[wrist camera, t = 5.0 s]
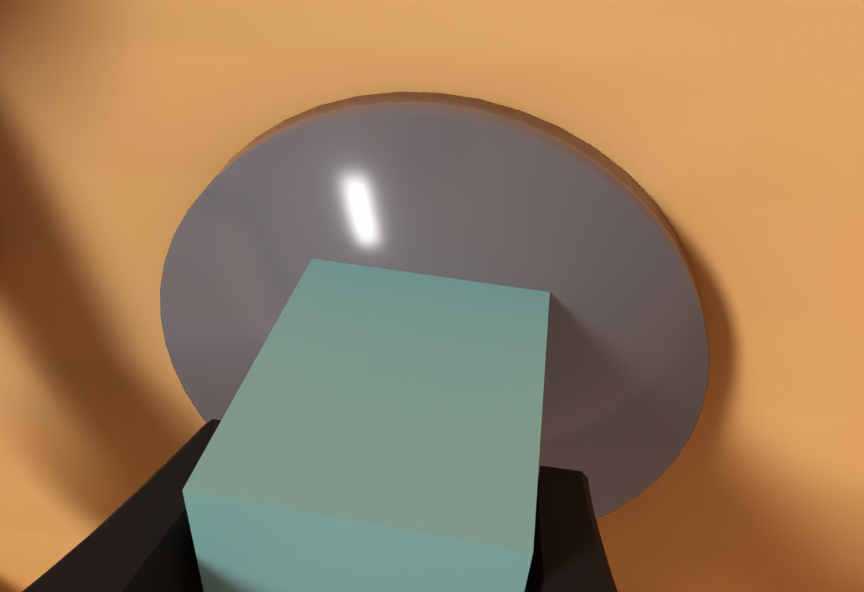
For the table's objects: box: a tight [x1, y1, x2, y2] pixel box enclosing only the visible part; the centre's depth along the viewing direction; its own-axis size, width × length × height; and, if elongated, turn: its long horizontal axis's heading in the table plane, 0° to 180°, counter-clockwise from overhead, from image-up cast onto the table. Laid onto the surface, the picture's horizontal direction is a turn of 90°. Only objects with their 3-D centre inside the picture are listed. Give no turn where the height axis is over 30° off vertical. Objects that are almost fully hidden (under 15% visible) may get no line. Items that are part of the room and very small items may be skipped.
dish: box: [160, 92, 709, 519], centre depth 14 cm, size 10×10×1 cm
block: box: [182, 258, 550, 592], centre depth 11 cm, size 4×4×5 cm
